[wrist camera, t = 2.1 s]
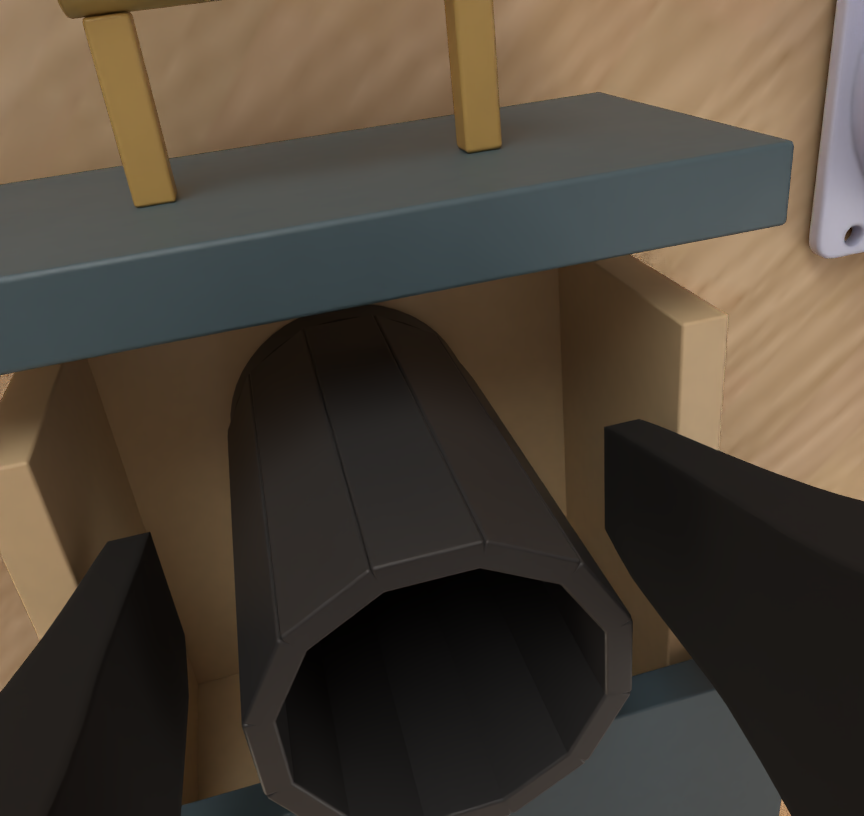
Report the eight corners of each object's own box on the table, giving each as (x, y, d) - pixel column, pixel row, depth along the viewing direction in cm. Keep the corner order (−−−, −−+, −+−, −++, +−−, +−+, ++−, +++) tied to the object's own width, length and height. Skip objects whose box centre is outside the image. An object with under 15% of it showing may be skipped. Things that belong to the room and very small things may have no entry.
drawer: (-145, -62, 13) (-403, -100, 7) (599, -138, 15) (834, -213, 9) (145, 689, 20) (125, 942, 15) (604, 569, 23) (732, 753, 17)
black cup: (455, 281, 16) (636, 503, 9) (475, 486, 19) (631, 779, 12) (203, 330, 16) (202, 610, 9) (259, 536, 18) (292, 882, 11)
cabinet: (84, 571, 20) (21, 894, 13) (610, 448, 22) (802, 663, 15) (215, 902, 26) (222, 1237, 19) (610, 781, 28) (745, 1039, 21)
